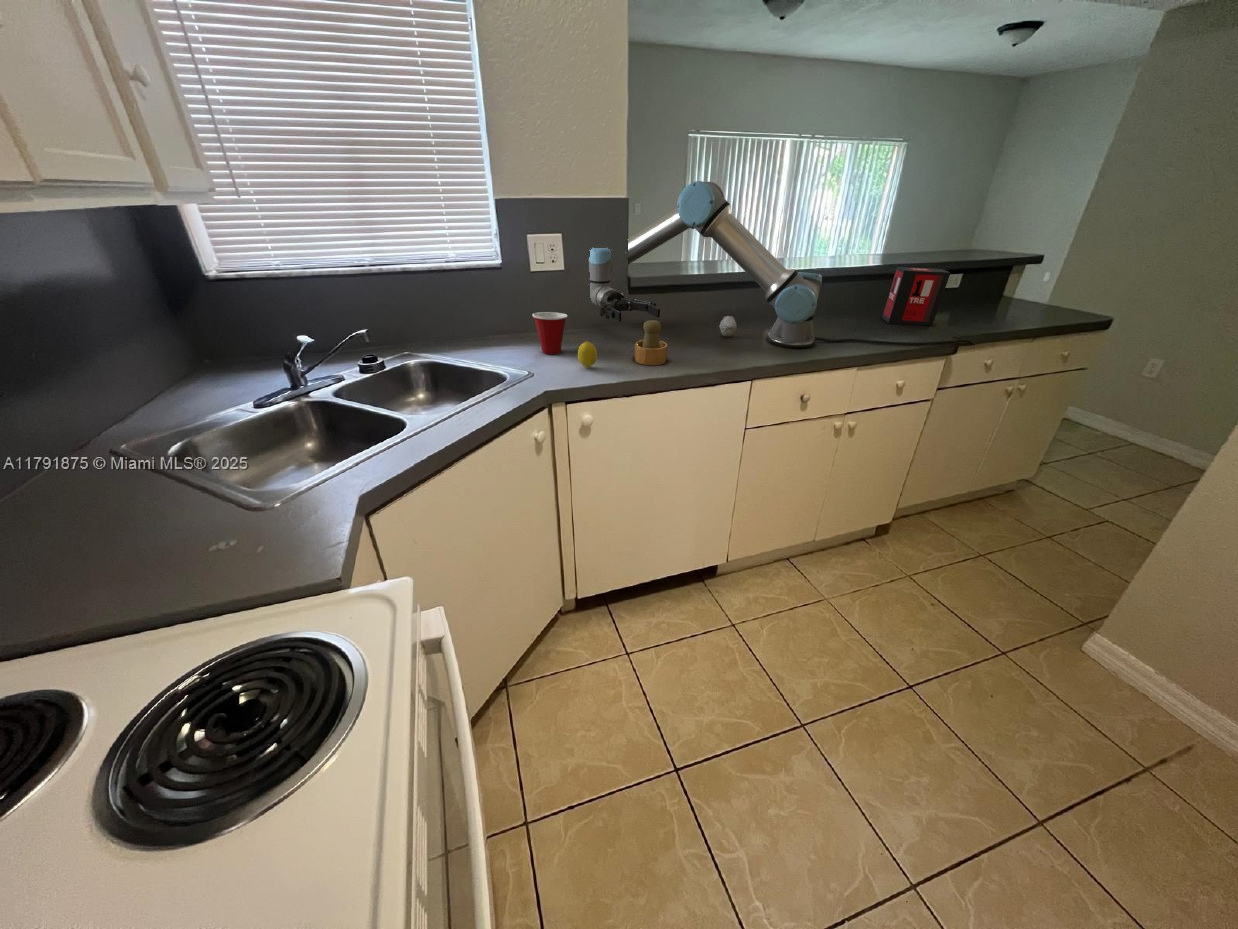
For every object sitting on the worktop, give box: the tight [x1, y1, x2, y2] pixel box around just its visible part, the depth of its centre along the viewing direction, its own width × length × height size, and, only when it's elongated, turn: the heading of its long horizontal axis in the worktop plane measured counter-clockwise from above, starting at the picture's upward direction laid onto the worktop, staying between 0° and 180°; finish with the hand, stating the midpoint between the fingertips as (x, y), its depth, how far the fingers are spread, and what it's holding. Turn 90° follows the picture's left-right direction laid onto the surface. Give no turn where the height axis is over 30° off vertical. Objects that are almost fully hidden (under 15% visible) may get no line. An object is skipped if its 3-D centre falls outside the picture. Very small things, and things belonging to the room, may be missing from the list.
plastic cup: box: [532, 311, 568, 355], centre depth 153 cm, size 11×11×12 cm
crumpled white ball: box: [718, 315, 738, 338], centre depth 173 cm, size 6×7×7 cm
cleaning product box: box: [881, 266, 952, 327], centre depth 193 cm, size 16×9×20 cm, turn 80°
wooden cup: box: [634, 339, 669, 366], centre depth 149 cm, size 10×10×5 cm
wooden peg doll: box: [642, 319, 662, 349], centre depth 147 cm, size 6×6×11 cm
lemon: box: [577, 340, 598, 369], centre depth 141 cm, size 6×6×8 cm
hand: (639, 314), depth 151 cm, fingers open, 13 cm apart
